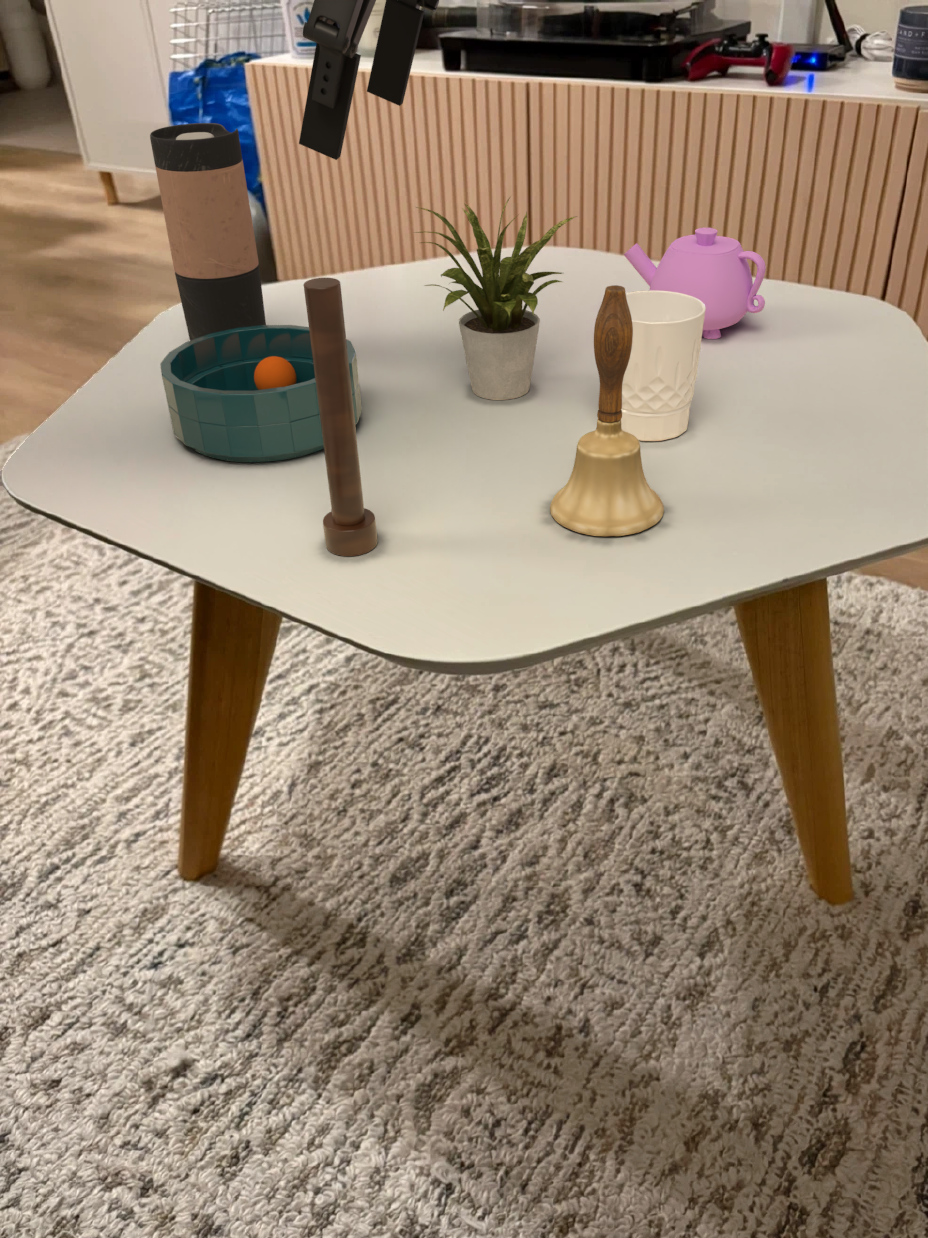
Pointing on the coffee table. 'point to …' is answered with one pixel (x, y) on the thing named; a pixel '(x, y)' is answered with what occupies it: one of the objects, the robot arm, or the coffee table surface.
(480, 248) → the house plant
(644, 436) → the white cup
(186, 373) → the bowl
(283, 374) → the orange ball
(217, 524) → the coffee table surface
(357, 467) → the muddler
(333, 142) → the robot arm
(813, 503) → the coffee table surface
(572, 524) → the hand bell
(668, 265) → the teapot
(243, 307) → the travel mug
